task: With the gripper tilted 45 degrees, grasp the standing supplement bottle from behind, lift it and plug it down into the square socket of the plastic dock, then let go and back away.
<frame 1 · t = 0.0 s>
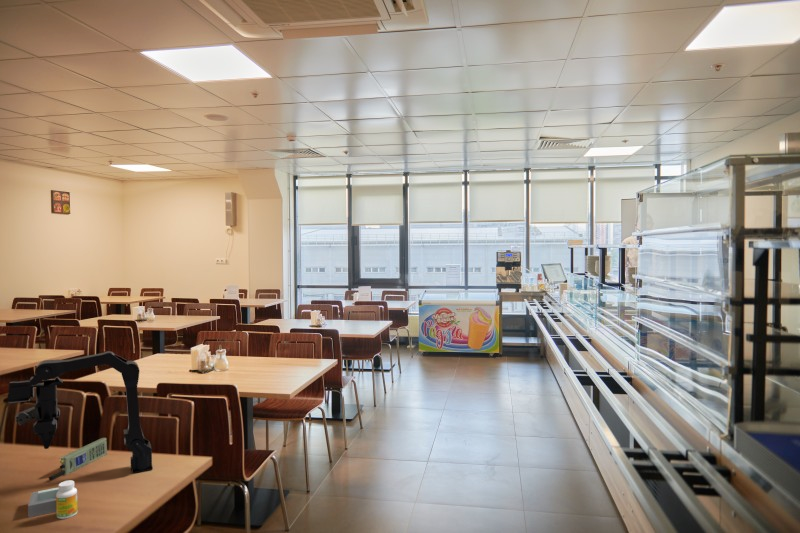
hand: (47, 444, 174), 15 cm above the table, tool pointing down, fingers open, 9 cm apart
handheld radio: (79, 468, 190), on the table
dock: (49, 506, 161), on the table
supplement bottle: (67, 515, 156), on the table
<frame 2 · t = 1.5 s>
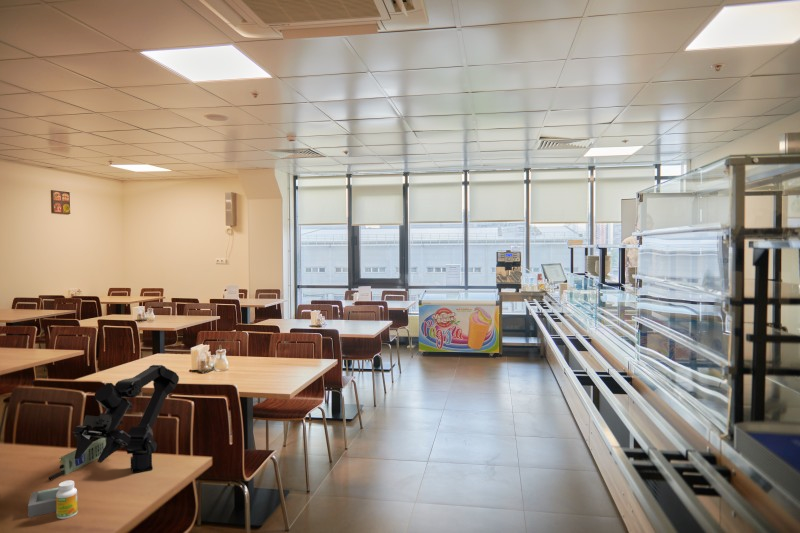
hand: (87, 460, 163), 13 cm above the table, tool tilted 45°, fingers open, 9 cm apart
nothing on the table moved.
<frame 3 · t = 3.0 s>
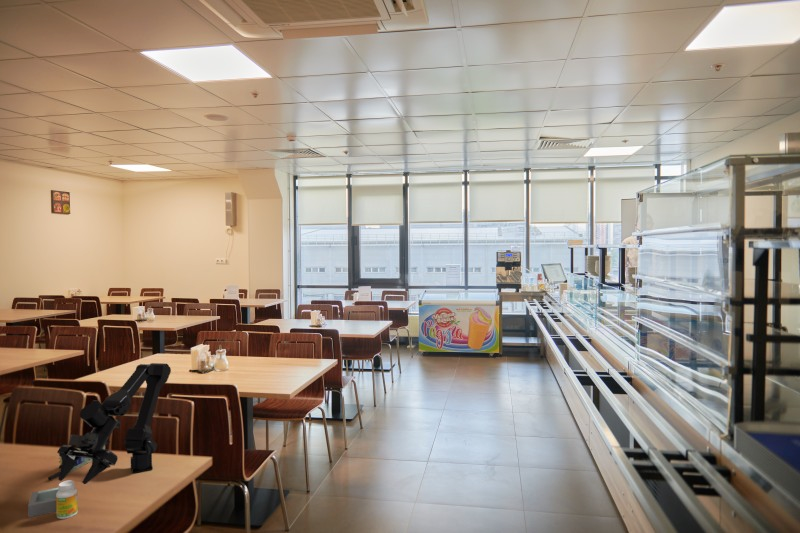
hand: (71, 482, 157), 9 cm above the table, tool tilted 45°, fingers open, 9 cm apart
nothing on the table moved.
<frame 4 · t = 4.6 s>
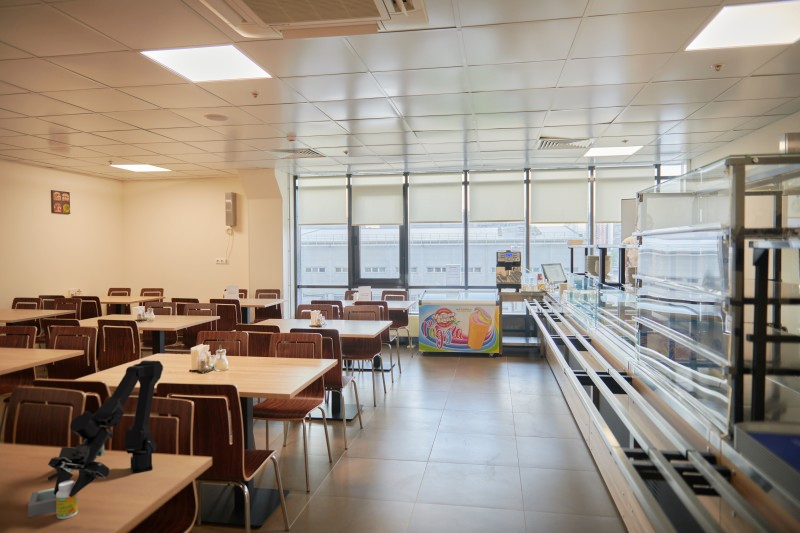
hand: (62, 495, 154), 7 cm above the table, tool tilted 45°, fingers closed on supplement bottle, 5 cm apart
supplement bottle: (67, 515, 156), on the table, touching gripper
everything else where it was.
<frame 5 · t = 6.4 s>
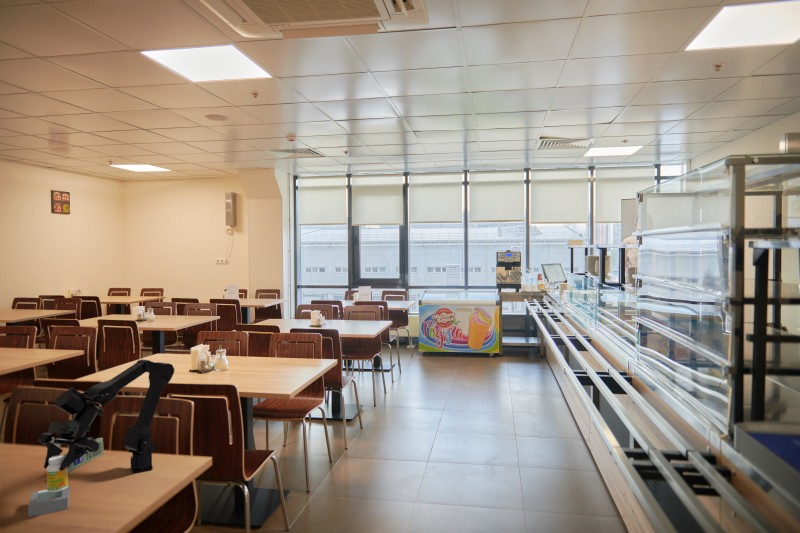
hand: (52, 469, 157), 13 cm above the table, tool tilted 45°, fingers closed on supplement bottle, 5 cm apart
supplement bottle: (57, 489, 159), point 6 cm above the table, touching gripper
when the fingers open (9 cm above the table, at t = 8.7 s): supplement bottle stays where it is, resting on dock.
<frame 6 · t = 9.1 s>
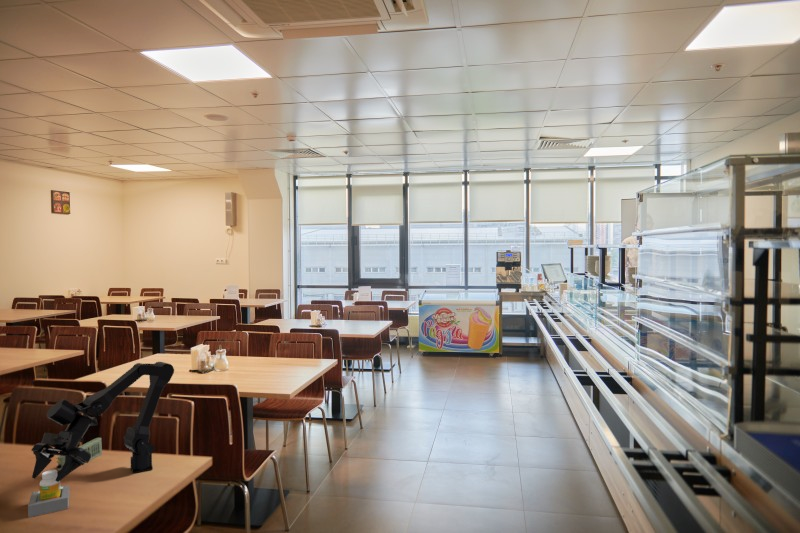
hand: (44, 479, 159), 9 cm above the table, tool tilted 45°, fingers open, 9 cm apart
supplement bottle: (50, 503, 161), point 1 cm above the table, touching dock
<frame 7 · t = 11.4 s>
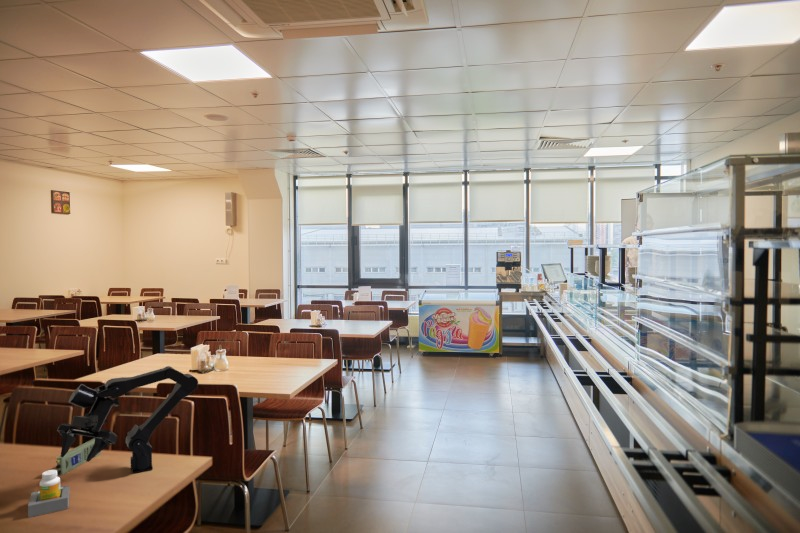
hand: (74, 459, 169), 11 cm above the table, tool tilted 40°, fingers open, 9 cm apart
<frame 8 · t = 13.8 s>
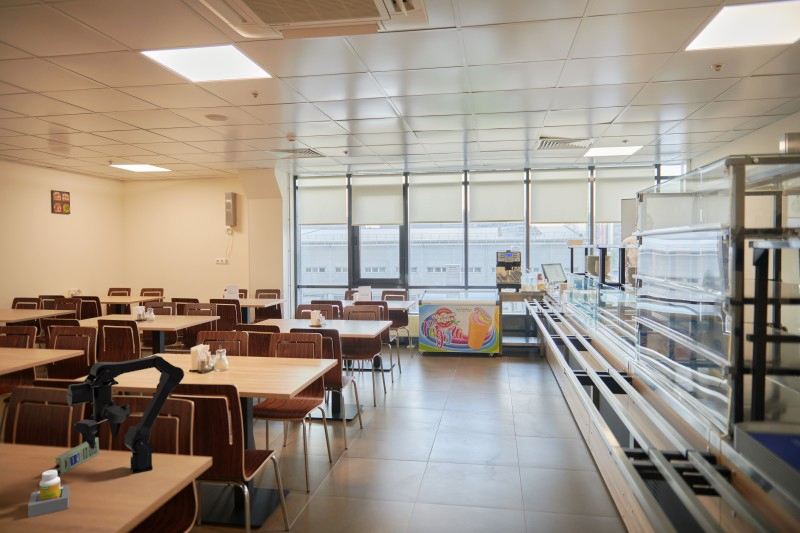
hand: (103, 443, 178), 13 cm above the table, tool pointing down, fingers open, 9 cm apart
at the end: supplement bottle 0.2 cm off-centre on the dock, point 0.8 cm above the dock's base; supplement bottle tilted 0°; the gripper is holding nothing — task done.
